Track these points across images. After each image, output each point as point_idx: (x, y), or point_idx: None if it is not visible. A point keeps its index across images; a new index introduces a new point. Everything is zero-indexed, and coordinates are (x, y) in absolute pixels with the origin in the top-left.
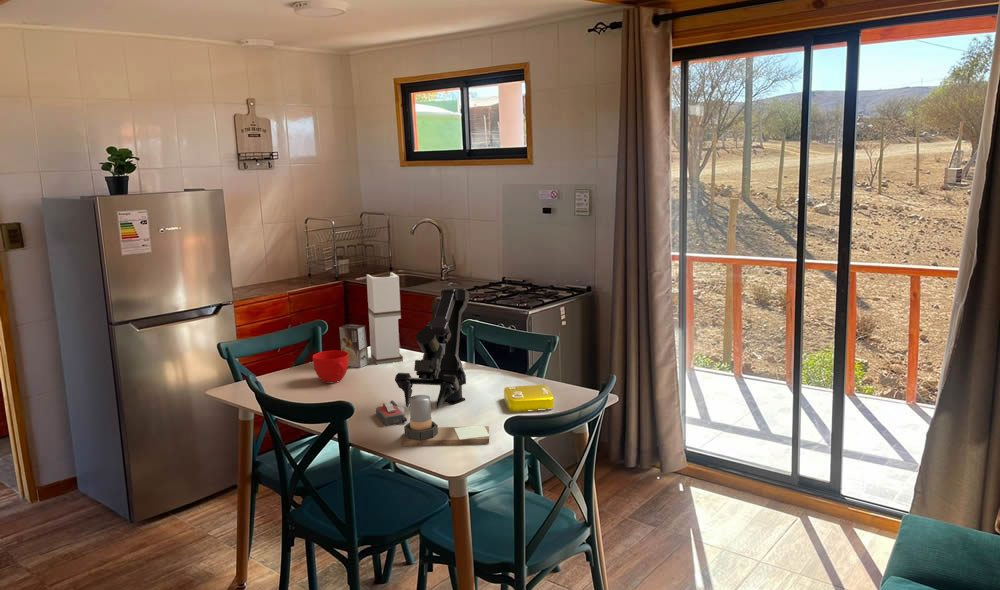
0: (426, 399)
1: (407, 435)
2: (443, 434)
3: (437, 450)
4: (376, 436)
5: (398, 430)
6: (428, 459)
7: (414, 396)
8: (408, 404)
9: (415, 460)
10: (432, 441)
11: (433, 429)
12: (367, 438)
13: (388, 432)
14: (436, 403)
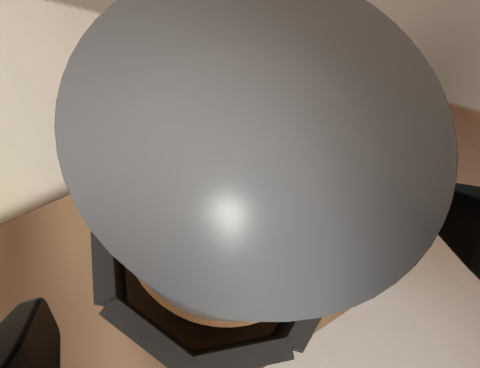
0: (102, 91)
1: None
2: (56, 308)
3: (31, 144)
4: (456, 180)
5: (429, 311)
6: (30, 39)
7: (422, 155)
8: (453, 229)
9: (90, 14)
10: None
11: None
12: (470, 142)
13: (451, 255)
14: (25, 334)
